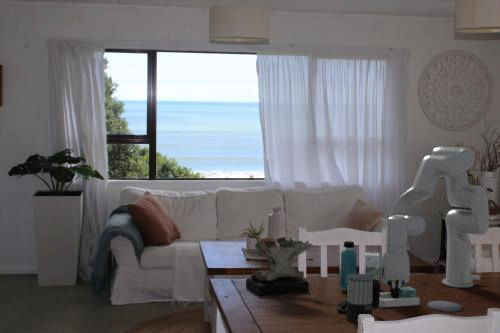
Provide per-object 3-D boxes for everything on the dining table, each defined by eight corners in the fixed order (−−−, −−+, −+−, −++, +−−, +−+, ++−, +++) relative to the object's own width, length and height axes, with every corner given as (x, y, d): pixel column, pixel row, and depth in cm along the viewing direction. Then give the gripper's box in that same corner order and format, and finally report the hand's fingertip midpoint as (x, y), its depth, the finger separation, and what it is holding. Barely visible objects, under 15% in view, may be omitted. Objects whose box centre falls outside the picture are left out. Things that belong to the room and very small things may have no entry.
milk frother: (365, 325, 216) (366, 281, 215) (323, 316, 226) (324, 274, 224) (383, 315, 228) (384, 273, 227) (342, 307, 237) (343, 267, 236)
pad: (450, 301, 246) (450, 300, 246) (468, 310, 235) (468, 309, 235) (421, 303, 243) (421, 301, 243) (438, 312, 232) (438, 310, 232)
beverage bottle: (336, 292, 257) (338, 242, 256) (342, 288, 263) (343, 239, 262) (352, 294, 254) (354, 243, 253) (358, 290, 260) (359, 241, 259)
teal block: (409, 299, 248) (409, 286, 248) (415, 303, 243) (415, 290, 243) (397, 300, 247) (397, 287, 247) (403, 303, 242) (403, 290, 242)
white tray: (406, 297, 251) (406, 291, 251) (419, 305, 241) (419, 298, 241) (369, 299, 247) (369, 293, 247) (380, 307, 237) (380, 300, 237)
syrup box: (377, 287, 266) (378, 252, 265) (379, 290, 260) (380, 255, 259) (363, 286, 267) (364, 251, 266) (364, 290, 261) (365, 254, 260)
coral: (301, 282, 272) (302, 231, 270) (323, 295, 253) (325, 240, 251) (245, 287, 263) (246, 234, 261) (264, 300, 244) (265, 244, 242)
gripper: (409, 247, 248) (408, 294, 249) (373, 248, 245) (371, 296, 246) (419, 251, 241) (417, 299, 242) (382, 252, 237) (380, 301, 239)
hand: (394, 297), depth 244 cm, fingers closed
